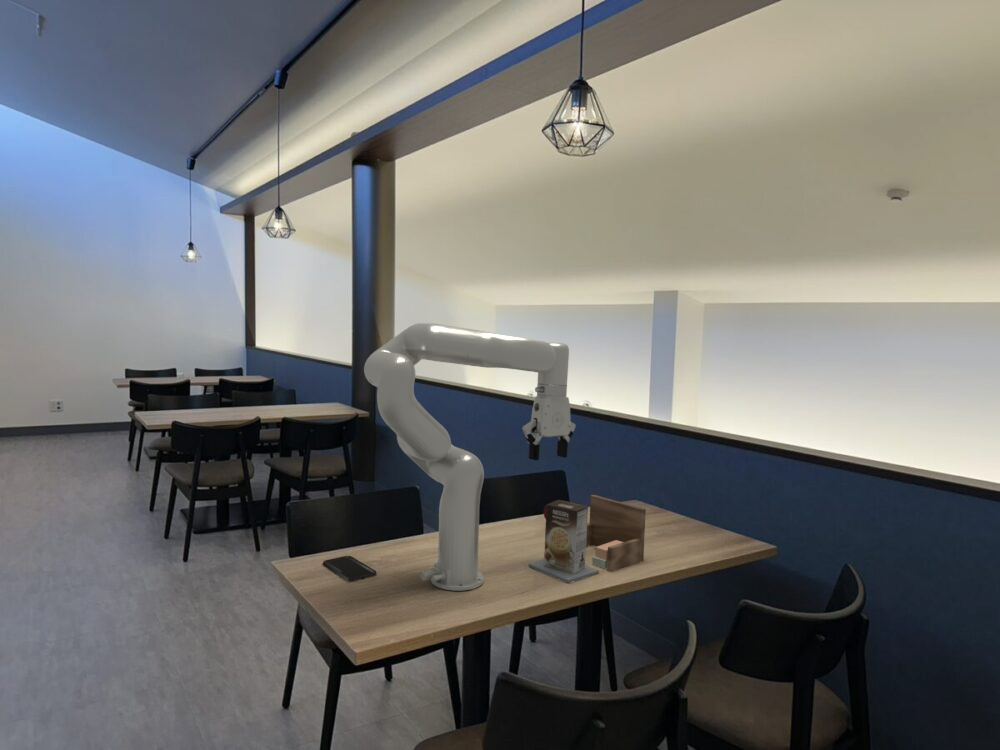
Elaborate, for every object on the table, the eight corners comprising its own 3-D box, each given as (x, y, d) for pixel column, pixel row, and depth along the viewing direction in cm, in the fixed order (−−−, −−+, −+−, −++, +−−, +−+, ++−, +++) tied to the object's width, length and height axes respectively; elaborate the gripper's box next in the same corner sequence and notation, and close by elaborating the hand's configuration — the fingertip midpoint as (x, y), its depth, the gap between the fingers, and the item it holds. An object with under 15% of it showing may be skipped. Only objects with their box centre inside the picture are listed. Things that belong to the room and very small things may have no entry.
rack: (610, 571, 167) (612, 517, 166) (559, 552, 181) (561, 501, 180) (643, 560, 176) (645, 508, 175) (592, 542, 190) (594, 494, 189)
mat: (568, 583, 158) (568, 580, 158) (528, 566, 169) (528, 563, 169) (598, 573, 166) (598, 570, 166) (558, 557, 176) (558, 554, 176)
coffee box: (542, 566, 167) (544, 504, 166) (555, 559, 172) (557, 499, 171) (574, 574, 162) (576, 510, 161) (586, 567, 167) (589, 505, 166)
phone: (349, 555, 172) (378, 572, 160) (349, 559, 172) (378, 576, 160) (321, 561, 166) (348, 579, 155) (321, 565, 167) (348, 584, 155)
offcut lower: (604, 570, 169) (605, 561, 169) (592, 566, 172) (592, 556, 172) (627, 561, 176) (627, 552, 176) (615, 557, 179) (615, 548, 179)
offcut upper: (606, 560, 169) (606, 550, 169) (595, 556, 172) (595, 547, 172) (627, 552, 176) (627, 543, 176) (615, 549, 178) (616, 540, 178)
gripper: (535, 393, 159) (532, 463, 160) (586, 392, 170) (582, 458, 171) (516, 390, 165) (512, 458, 166) (566, 389, 175) (562, 453, 176)
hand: (548, 458), depth 168 cm, fingers open, 9 cm apart
